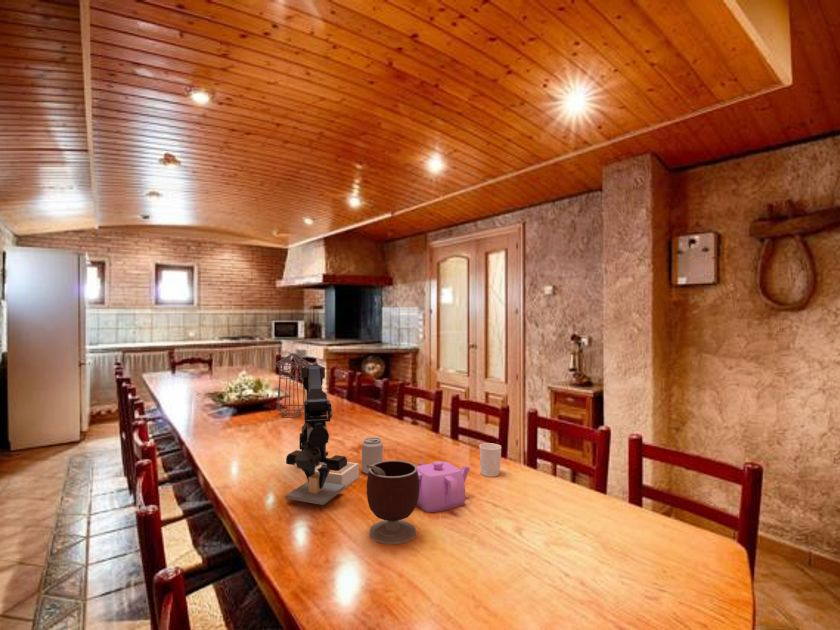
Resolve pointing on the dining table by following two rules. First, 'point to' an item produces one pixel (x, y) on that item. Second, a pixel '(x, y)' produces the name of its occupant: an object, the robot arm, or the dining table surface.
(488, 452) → the white cup
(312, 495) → the lid
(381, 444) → the can
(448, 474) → the teakettle
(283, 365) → the geometric lantern
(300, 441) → the robot arm
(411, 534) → the mate gourd
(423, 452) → the dining table surface
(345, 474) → the box
